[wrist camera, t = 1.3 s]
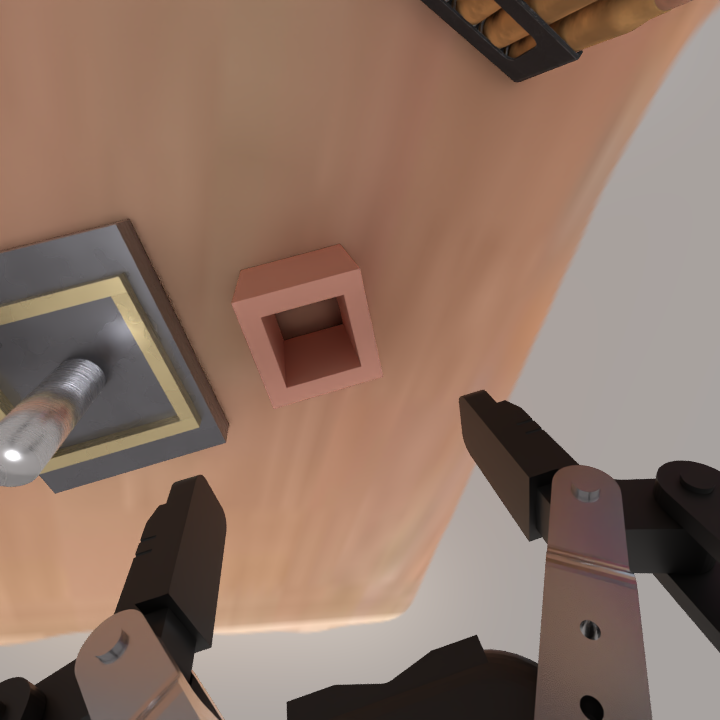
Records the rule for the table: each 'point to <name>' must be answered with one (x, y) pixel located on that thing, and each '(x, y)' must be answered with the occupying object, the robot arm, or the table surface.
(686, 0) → the ammunition clip
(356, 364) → the collar
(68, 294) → the post stand
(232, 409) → the table surface
